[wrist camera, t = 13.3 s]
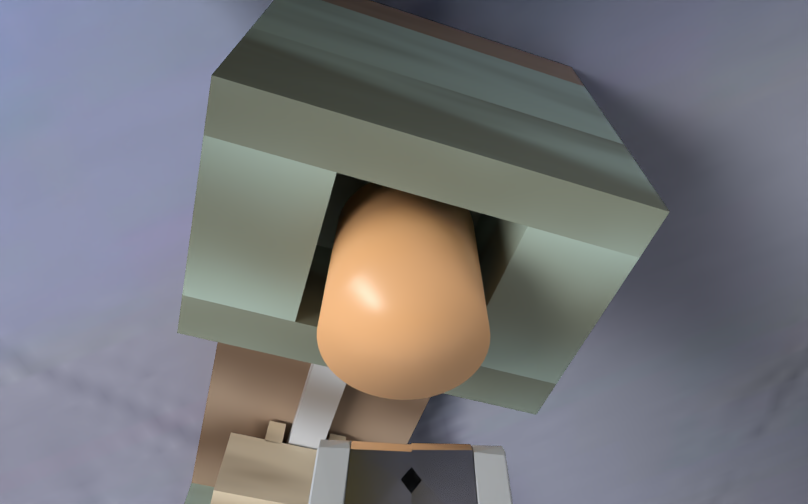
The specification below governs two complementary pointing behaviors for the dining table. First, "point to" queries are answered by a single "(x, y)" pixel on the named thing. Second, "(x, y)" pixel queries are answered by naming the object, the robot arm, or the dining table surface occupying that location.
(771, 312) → the dining table surface
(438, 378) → the plunger
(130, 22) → the dining table surface
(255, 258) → the rail bed
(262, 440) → the carriage
